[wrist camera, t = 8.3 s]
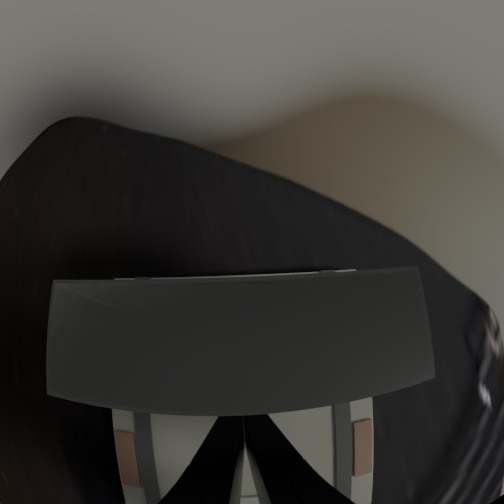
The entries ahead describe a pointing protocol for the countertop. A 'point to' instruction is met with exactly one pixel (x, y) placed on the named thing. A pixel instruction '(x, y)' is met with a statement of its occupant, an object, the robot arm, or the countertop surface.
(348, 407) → the switch panel
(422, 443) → the countertop surface
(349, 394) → the switch slider
